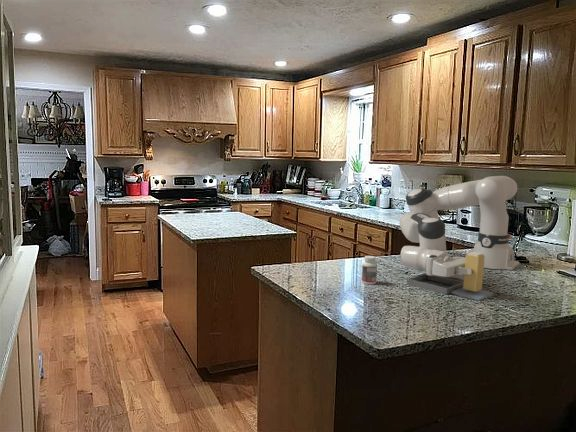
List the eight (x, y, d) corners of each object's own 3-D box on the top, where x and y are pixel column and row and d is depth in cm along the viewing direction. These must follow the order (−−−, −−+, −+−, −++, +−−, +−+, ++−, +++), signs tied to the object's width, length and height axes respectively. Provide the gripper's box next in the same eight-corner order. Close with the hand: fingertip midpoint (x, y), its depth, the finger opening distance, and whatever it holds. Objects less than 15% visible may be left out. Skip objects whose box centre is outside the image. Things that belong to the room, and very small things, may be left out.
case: (443, 273, 192) (444, 268, 192) (482, 281, 180) (482, 276, 180) (406, 284, 175) (406, 278, 175) (446, 294, 163) (446, 288, 163)
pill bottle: (360, 280, 178) (361, 255, 177) (374, 280, 179) (375, 255, 177) (363, 284, 173) (364, 258, 172) (378, 284, 173) (379, 258, 172)
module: (469, 286, 167) (472, 251, 165) (481, 289, 164) (484, 253, 162) (463, 288, 164) (465, 252, 162) (475, 291, 161) (478, 255, 159)
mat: (465, 288, 171) (465, 286, 171) (493, 295, 164) (493, 292, 164) (451, 293, 164) (451, 291, 164) (479, 300, 157) (479, 298, 157)
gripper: (453, 267, 180) (489, 274, 170) (424, 275, 166) (461, 284, 156) (455, 250, 179) (491, 257, 169) (425, 258, 165) (462, 266, 155)
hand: (476, 270), depth 162 cm, fingers closed on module, 4 cm apart
